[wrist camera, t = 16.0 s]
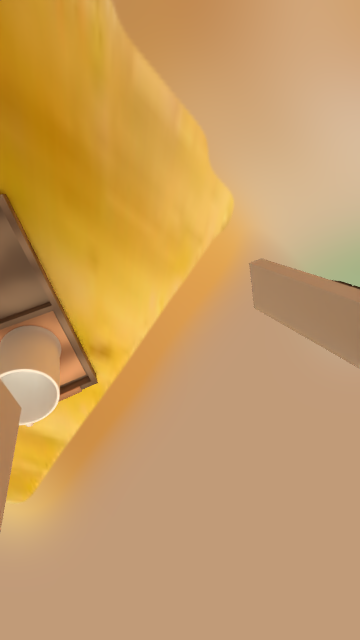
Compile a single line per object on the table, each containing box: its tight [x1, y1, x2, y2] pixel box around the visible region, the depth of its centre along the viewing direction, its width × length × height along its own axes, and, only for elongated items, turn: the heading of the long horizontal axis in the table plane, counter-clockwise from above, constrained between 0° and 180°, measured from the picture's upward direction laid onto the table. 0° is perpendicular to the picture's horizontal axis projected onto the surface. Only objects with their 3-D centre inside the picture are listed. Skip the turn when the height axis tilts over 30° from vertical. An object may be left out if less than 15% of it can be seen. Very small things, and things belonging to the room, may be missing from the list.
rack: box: [0, 194, 98, 402], centre depth 39 cm, size 30×14×3 cm, turn 14°
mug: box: [0, 325, 61, 427], centre depth 38 cm, size 12×8×12 cm
